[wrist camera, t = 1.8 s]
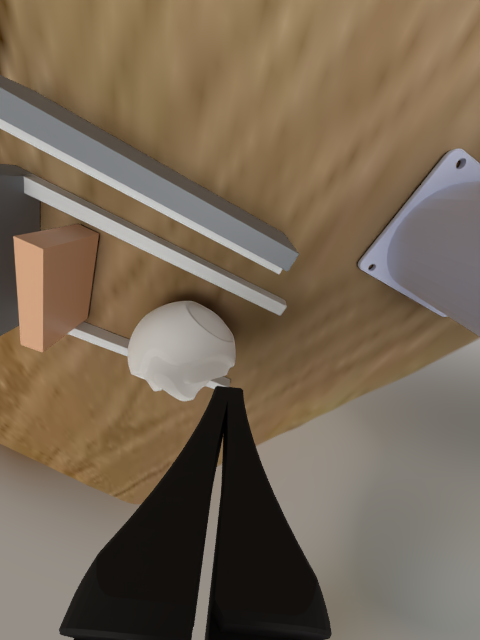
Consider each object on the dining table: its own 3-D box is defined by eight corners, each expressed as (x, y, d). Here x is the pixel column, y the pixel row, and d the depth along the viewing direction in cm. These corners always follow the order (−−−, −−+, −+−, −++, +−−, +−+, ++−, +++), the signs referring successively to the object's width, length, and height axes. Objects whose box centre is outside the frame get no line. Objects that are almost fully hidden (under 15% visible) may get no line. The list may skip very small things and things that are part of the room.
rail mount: (317, 252, 16) (347, 281, 11) (226, 384, 24) (219, 437, 19) (10, 77, 12) (-169, -7, 7) (23, 306, 20) (-56, 346, 15)
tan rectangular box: (98, 233, 16) (43, 249, 12) (87, 318, 20) (42, 352, 16) (78, 223, 16) (13, 236, 11) (70, 311, 20) (20, 344, 16)
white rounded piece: (176, 361, 23) (145, 431, 16) (137, 299, 19) (76, 357, 12) (248, 344, 21) (246, 415, 14) (220, 274, 17) (201, 324, 11)
